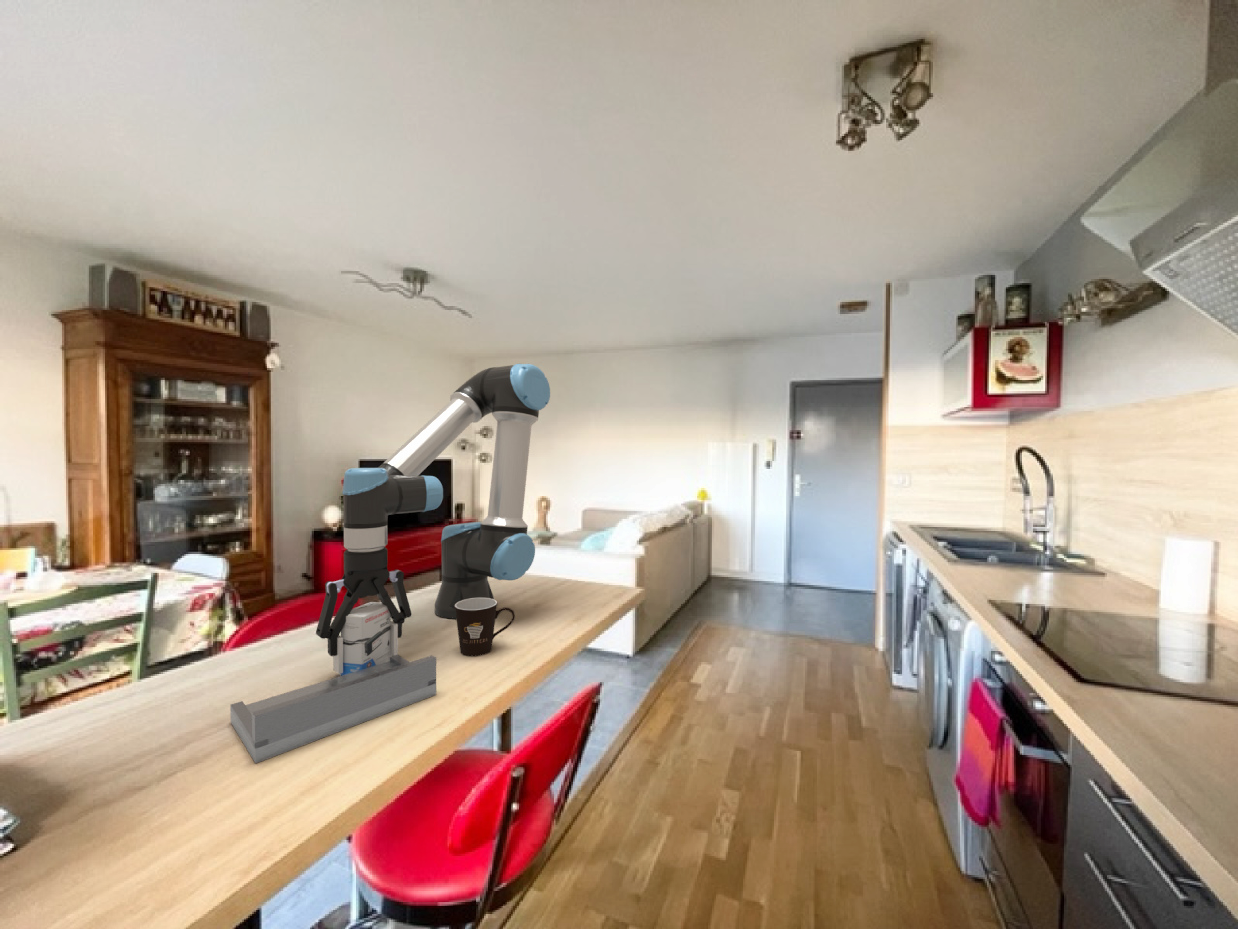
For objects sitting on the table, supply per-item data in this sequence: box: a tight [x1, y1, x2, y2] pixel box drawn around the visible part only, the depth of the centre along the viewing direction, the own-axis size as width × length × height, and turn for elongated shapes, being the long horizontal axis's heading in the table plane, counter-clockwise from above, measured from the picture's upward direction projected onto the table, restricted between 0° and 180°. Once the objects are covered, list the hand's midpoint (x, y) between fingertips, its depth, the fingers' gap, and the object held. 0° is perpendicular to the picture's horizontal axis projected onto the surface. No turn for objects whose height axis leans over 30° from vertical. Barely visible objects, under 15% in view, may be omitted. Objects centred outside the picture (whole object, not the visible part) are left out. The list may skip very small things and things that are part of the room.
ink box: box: [340, 601, 392, 676], centre depth 97 cm, size 8×5×12 cm, turn 168°
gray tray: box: [229, 654, 437, 764], centre depth 82 cm, size 26×15×6 cm, turn 138°
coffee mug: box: [455, 598, 516, 657], centre depth 106 cm, size 12×9×10 cm
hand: (366, 662), depth 97 cm, fingers closed on ink box, 9 cm apart
